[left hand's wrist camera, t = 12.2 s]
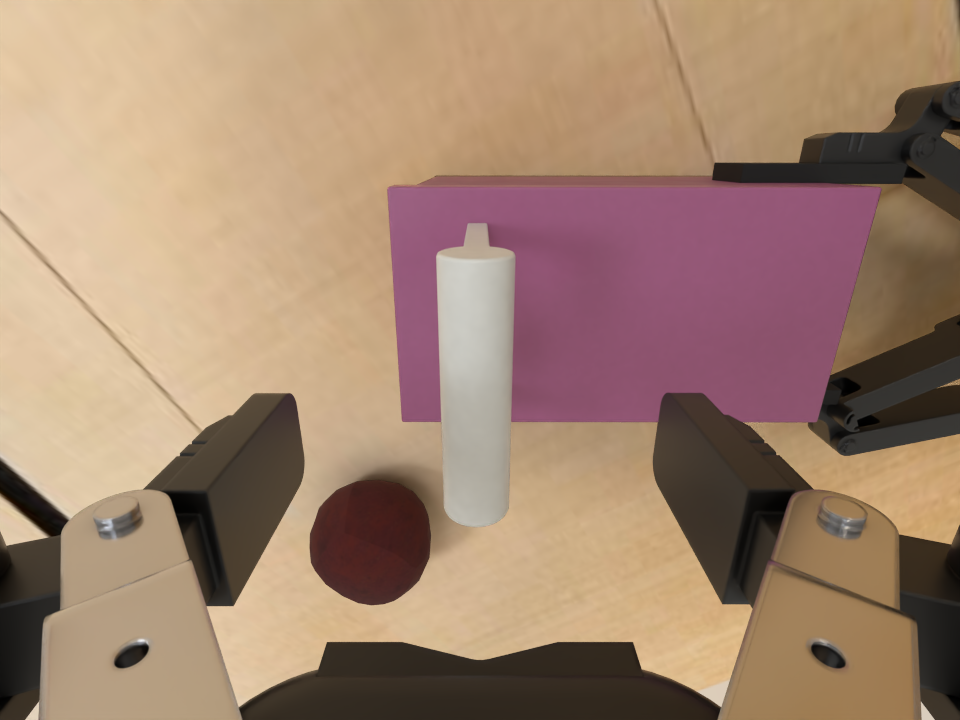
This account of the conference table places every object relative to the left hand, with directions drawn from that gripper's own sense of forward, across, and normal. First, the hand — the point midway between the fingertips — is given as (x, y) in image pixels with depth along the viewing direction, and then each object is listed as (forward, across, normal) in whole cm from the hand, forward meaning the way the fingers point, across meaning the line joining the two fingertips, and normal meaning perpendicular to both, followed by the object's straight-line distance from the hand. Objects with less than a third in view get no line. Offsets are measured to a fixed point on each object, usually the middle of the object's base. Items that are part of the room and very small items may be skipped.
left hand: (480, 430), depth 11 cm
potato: (+20, -7, -17) cm, 27 cm away
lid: (+10, +5, 0) cm, 11 cm away
